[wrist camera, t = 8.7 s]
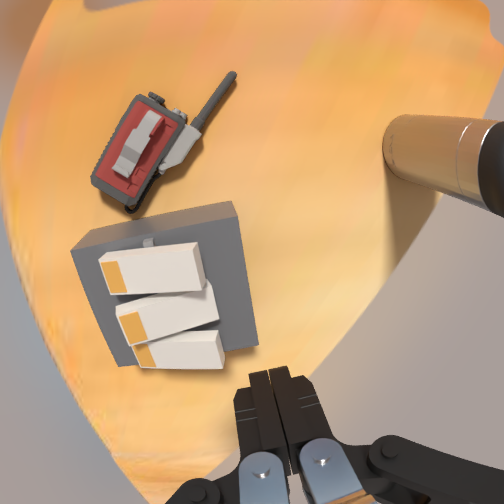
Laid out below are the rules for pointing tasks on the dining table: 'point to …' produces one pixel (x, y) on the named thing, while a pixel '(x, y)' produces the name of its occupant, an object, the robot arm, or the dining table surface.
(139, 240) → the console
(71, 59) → the dining table surface
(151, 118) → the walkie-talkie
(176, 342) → the rocker
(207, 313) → the rocker
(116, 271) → the white rectangular block
